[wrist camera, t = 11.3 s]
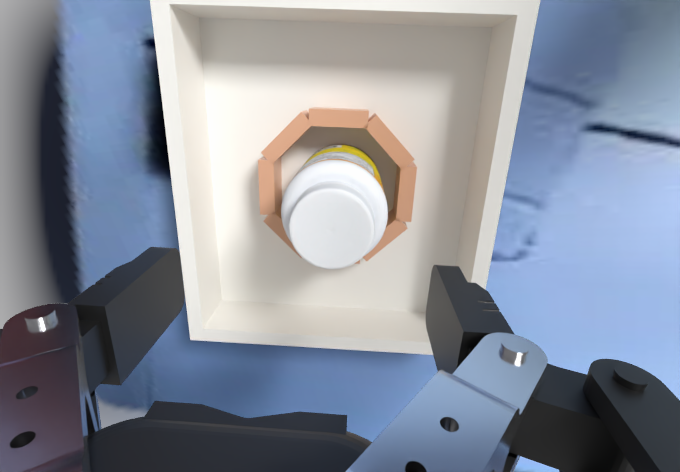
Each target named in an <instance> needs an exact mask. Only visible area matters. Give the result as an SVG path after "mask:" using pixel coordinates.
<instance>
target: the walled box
mask: <svg viewBox="0 0 680 472" xmlns="http://www.w3.org/2000/svg"><path fill="white" fill-rule="evenodd" d="M150 4H151V13H152V21H153V29H154V38H155V46H156V55H157V63H158V72H159V80H160V88H161V97H162V105H163V114H164V122H165V130H166V139H167V147H168V156H169V164H170V173H171V181H172V189H173V198H174V206H175V215H176V223H177V232H178V240H179V248H180V257H181V265H182V274H183V282H184V291H185V299H186V307H187V316H188V324H189V333H190V340H199V341H215V342H231V343H248V344H264V345H280V346H296V347H313V348H329V349H345V350H361V351H378V352H394V353H410V354H426V355H433V351H432V348H431V344H430V340H429V336H428V333H427V329H426V306H427V299H428V293H429V286H430V279H431V272H432V268H433V266H434V265H446V266H459V267H460V269H461V271H462V273H463V275H464V276H465V278H466V280H467V282H471V283H477V284H478V285H479V286H481V287H482V288H484V289H486V284H487V279H488V273H489V268H490V263H491V257H492V252H493V247H494V242H495V236H496V231H497V226H498V221H499V215H500V210H501V205H502V200H503V194H504V189H505V184H506V178H507V173H508V168H509V163H510V157H511V152H512V147H513V142H514V136H515V131H516V126H517V121H518V115H519V110H520V105H521V99H522V94H523V89H524V84H525V78H526V73H527V68H528V63H529V57H530V52H531V47H532V42H533V36H534V31H535V26H536V20H537V15H538V10H539V5H540V0H150ZM333 144H347V145H351V146H354V147H357V148H359V149H361V150H362V151H364V152H365V153H366V154H367V155H368V156H369V157H370V158H371V159H372V160H373V162H374V163H375V165H376V166H377V169H378V171H379V175H380V178H381V182H382V185H383V189H384V193H385V197H386V200H387V207H388V219H387V225H386V229H385V231H384V234H383V236H382V238H381V240H380V241H379V243H378V244H377V245H376V246H375V247H374V248H373V249H372V250H371V251H370V252H369V253H368V254H366V255H365V256H363V257H362V258H361V259H360V260H359V261H357V262H356V263H354V264H352V265H350V266H348V267H345V268H340V269H324V268H320V267H317V266H315V265H312V264H310V263H309V262H307V261H306V260H305V259H303V258H302V257H301V256H300V255H299V254H298V253H297V251H296V250H295V248H294V246H293V244H292V242H291V241H290V240H289V238H288V236H287V234H286V232H285V230H284V227H283V223H282V217H281V206H282V200H283V196H284V194H285V191H286V189H287V187H288V185H289V183H290V182H291V181H292V179H293V178H294V177H295V175H296V174H297V173H298V172H299V170H300V169H301V168H302V166H303V165H304V164H305V163H306V161H307V160H308V159H309V158H310V157H311V156H312V155H313V154H314V153H315V152H317V151H318V150H320V149H321V148H323V147H326V146H329V145H333Z"/></svg>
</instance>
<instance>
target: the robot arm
mask: <svg viewBox="0 0 680 472" xmlns="http://www.w3.org/2000/svg"><path fill="white" fill-rule="evenodd" d="M184 297H185V293H184V284H183V275H182V267H181V258H180V253H179V251H178V250H177V249H176V248H161V247H150V248H149V249H147V250H146V251H145V252H143V253H142V254H141V255H139V256H138V257H137V258H135V259H134V260H133V261H131V262H129V263H126V264H124V265H121V266H119V267H117V268H115V269H114V270H112V271H111V272H110V273H108V274H107V275H106V276H105V278H101V279H100V280H99V281H97V282H96V284H95V285H92V286H91V287H89V288H88V289H87V290H85V291H84V292H82V293H81V294H80V295H78V296H77V297H76V298H74V299H73V300H72V301H70V302H69V303H67V304H64V303H52V304H45V305H41V306H36V307H33V308H30V309H27V310H25V311H22V312H21V313H18V314H16V315H15V316H13V317H12V318H10V319H9V320H8V321H7V322H6V323H5V324H4V327H3V329H0V472H513V471H514V469H515V467H516V465H517V462H518V460H519V458H520V456H522V457H525V458H527V459H530V460H533V461H536V462H539V463H542V464H545V465H547V466H550V467H553V468H556V469H559V471H560V472H680V400H679V399H678V398H677V397H676V396H675V395H674V394H673V393H672V392H671V391H670V390H669V389H668V388H667V387H666V386H665V385H664V384H663V383H662V382H661V381H660V380H659V379H658V378H656V377H655V376H653V375H652V374H650V373H649V372H647V371H645V370H643V369H641V368H639V367H637V366H634V365H632V364H629V363H626V362H623V361H619V360H613V359H599V360H596V361H594V362H593V363H592V364H591V365H590V368H589V371H588V374H587V375H586V374H582V373H578V372H574V371H571V370H567V369H563V368H559V367H556V366H553V365H550V364H548V363H547V362H548V361H547V356H546V354H545V353H544V351H543V350H542V349H541V348H540V347H538V346H537V345H536V344H534V343H533V342H531V341H529V340H528V339H525V338H523V337H520V336H518V335H515V334H514V333H513V331H512V330H511V328H510V326H509V325H508V323H507V322H506V320H505V318H504V317H503V315H502V313H501V312H499V309H498V307H497V305H496V304H494V301H493V299H492V297H491V296H490V294H489V292H488V291H486V290H485V289H484V288H482V287H481V286H479V285H478V284H477V283H471V282H467V280H466V278H465V276H464V275H463V273H462V271H461V269H460V267H459V266H446V265H434V266H433V268H432V272H431V279H430V286H429V293H428V299H427V306H426V329H427V333H428V336H429V340H430V344H431V348H432V351H433V355H434V359H435V362H436V366H437V370H438V372H437V373H436V374H435V375H434V376H433V377H432V378H431V379H430V380H429V381H428V382H427V384H426V385H425V386H424V387H423V388H422V389H421V390H420V391H419V392H418V393H417V394H416V396H415V397H414V398H413V399H412V400H411V401H410V402H409V403H408V404H407V405H406V406H405V408H404V409H403V410H402V411H401V412H400V413H399V414H398V415H397V416H396V417H395V418H394V420H393V421H392V422H391V423H390V424H389V425H388V426H387V427H386V428H385V429H384V430H383V432H382V433H381V434H380V435H379V436H378V437H377V438H376V439H375V440H374V441H373V442H370V441H369V440H367V439H365V438H363V437H360V436H358V435H356V434H353V433H350V432H347V431H346V427H347V415H336V414H322V413H309V412H294V413H286V414H278V415H271V416H263V417H256V418H243V417H240V416H236V415H233V414H230V413H227V412H224V411H221V410H218V409H214V408H211V407H208V406H205V405H202V404H189V403H175V402H162V401H155V402H154V403H153V405H152V406H151V408H150V409H149V411H148V412H147V414H146V415H145V417H139V418H135V419H130V420H126V421H123V422H119V423H116V424H113V425H111V426H108V427H106V428H103V429H101V421H100V415H99V406H98V399H97V394H96V390H95V389H96V387H97V386H98V385H99V384H111V385H121V384H122V383H123V382H124V381H125V379H126V378H127V377H128V376H129V375H130V373H131V372H132V371H133V370H134V368H135V367H136V366H137V365H138V363H139V362H140V361H141V360H142V358H143V357H144V356H145V355H146V353H147V352H148V351H149V350H150V349H151V347H152V346H153V345H154V344H155V342H156V341H157V340H158V339H159V337H160V336H161V335H162V334H163V332H164V331H165V330H166V329H167V328H168V326H169V325H170V324H171V323H172V321H173V320H174V319H175V318H176V316H177V315H178V314H179V313H180V311H181V309H182V307H183V303H184Z"/></svg>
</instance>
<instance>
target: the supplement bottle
mask: <svg viewBox="0 0 680 472" xmlns="http://www.w3.org/2000/svg"><path fill="white" fill-rule="evenodd" d="M281 217H282V223H283V227H284V230H285V232H286V234H287V236H288V238H289V240H290V241H291V242H292V244H293V246H294V248H295V250H296V251H297V253H298V254H299V255H300V256H301V257H302V258H303V259H305V260H306V261H307V262H309V263H310V264H312V265H315V266H317V267H320V268H324V269H340V268H345V267H348V266H350V265H352V264H354V263H356V262H357V261H359V260H360V259H361V258H362V257H363V256H365V255H366V254H368V253H369V252H370V251H371V250H372V249H373V248H374V247H375V246H376V245H377V244H378V243H379V241H380V240H381V238H382V236H383V234H384V231H385V229H386V225H387V219H388V207H387V200H386V197H385V193H384V189H383V185H382V182H381V178H380V175H379V171H378V169H377V166H376V165H375V163H374V162H373V160H372V159H371V158H370V157H369V156H368V155H367V154H366V153H365V152H364V151H362V150H361V149H359V148H357V147H354V146H351V145H347V144H333V145H329V146H326V147H323V148H321V149H320V150H318V151H317V152H315V153H314V154H313V155H312V156H311V157H310V158H309V159H308V160H307V161H306V163H305V164H304V165H303V166H302V168H301V169H300V170H299V172H298V173H297V174H296V175H295V177H294V178H293V179H292V181H291V182H290V183H289V185H288V187H287V189H286V191H285V194H284V196H283V200H282V206H281Z"/></svg>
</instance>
